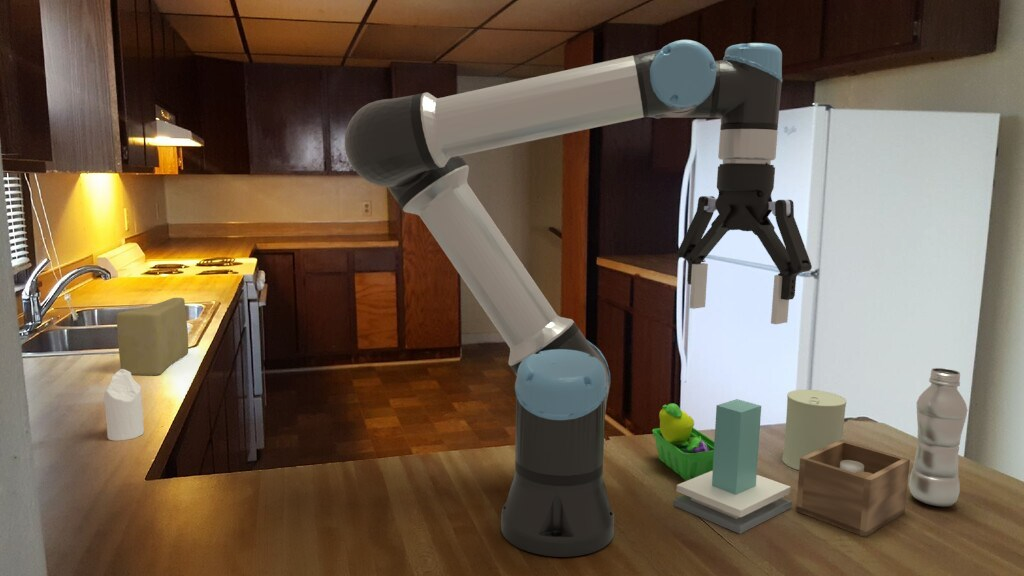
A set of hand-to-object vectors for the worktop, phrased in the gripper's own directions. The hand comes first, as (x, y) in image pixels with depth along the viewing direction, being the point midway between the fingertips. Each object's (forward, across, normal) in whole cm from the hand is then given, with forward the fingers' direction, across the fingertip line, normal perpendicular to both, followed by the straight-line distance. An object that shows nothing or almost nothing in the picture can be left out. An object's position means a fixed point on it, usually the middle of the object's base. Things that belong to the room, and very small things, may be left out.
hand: (736, 315), depth 106 cm
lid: (+27, -2, 0) cm, 27 cm away
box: (+28, -13, -12) cm, 33 cm away
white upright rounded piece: (+29, +81, +64) cm, 107 cm away
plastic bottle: (+28, -18, -25) cm, 42 cm away
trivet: (+28, -2, 0) cm, 28 cm away
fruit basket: (+28, +12, -5) cm, 31 cm away
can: (+28, +1, -25) cm, 37 cm away
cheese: (+29, +130, +46) cm, 141 cm away
